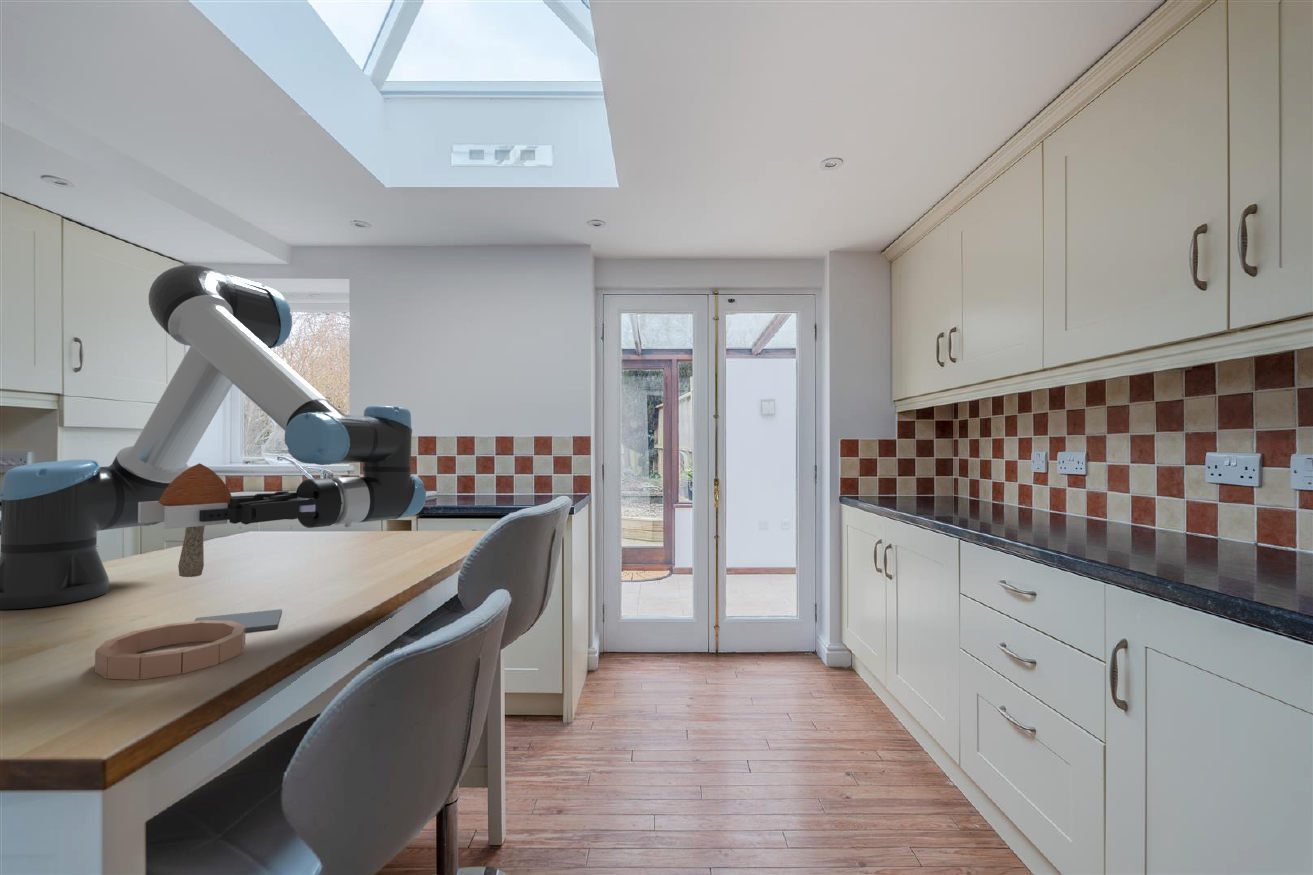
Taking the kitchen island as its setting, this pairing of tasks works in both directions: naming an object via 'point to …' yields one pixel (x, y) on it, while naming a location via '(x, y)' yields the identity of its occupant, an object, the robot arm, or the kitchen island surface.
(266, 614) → the mat
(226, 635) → the ring
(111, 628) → the kitchen island surface
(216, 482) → the mushroom
